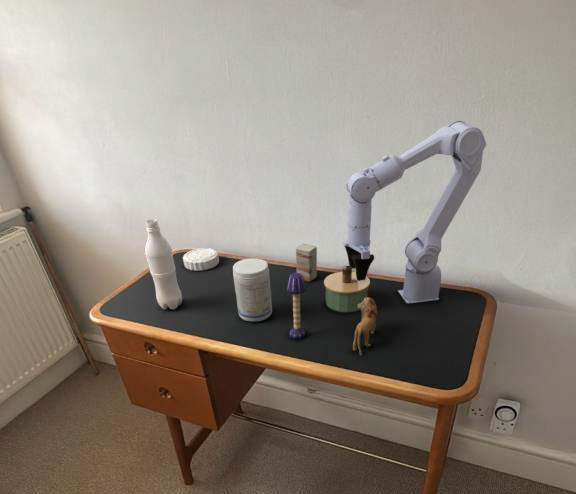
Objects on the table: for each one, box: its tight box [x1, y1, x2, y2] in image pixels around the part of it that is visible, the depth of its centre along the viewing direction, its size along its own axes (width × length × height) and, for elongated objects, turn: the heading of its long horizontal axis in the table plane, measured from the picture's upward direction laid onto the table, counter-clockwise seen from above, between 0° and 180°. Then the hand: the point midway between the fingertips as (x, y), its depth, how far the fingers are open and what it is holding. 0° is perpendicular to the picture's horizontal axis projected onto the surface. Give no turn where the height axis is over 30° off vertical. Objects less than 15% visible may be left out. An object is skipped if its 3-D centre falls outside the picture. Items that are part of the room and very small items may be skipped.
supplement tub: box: [232, 257, 273, 323], centre depth 125 cm, size 10×10×15 cm
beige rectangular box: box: [295, 243, 318, 283], centre depth 143 cm, size 5×4×10 cm
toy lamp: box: [286, 272, 307, 340], centre depth 115 cm, size 5×5×17 cm
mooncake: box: [182, 247, 220, 272], centre depth 158 cm, size 12×12×4 cm
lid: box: [323, 265, 371, 294], centre depth 127 cm, size 13×13×5 cm
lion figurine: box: [352, 296, 379, 356], centre depth 114 cm, size 15×5×9 cm, turn 168°
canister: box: [325, 287, 369, 313], centre depth 130 cm, size 12×12×6 cm
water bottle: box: [144, 218, 183, 310], centre depth 129 cm, size 7×7×25 cm
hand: (357, 273), depth 127 cm, fingers open, 7 cm apart
